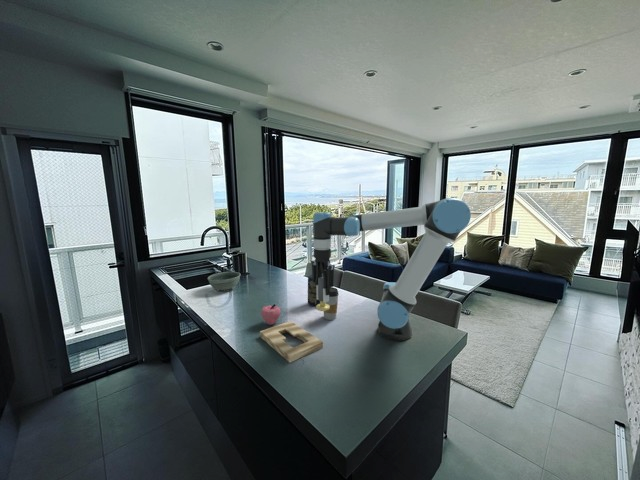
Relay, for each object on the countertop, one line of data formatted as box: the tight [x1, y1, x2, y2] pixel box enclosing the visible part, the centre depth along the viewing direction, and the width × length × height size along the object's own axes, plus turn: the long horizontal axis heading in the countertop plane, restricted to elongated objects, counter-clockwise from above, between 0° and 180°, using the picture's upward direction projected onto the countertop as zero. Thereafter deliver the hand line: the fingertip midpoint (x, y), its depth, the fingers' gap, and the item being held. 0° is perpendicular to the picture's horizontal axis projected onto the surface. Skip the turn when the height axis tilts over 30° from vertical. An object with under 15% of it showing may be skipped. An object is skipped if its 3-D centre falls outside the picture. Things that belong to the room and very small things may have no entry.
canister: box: [307, 274, 323, 307], centre depth 151 cm, size 10×10×18 cm
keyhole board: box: [259, 320, 324, 363], centre depth 111 cm, size 24×16×3 cm, turn 40°
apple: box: [260, 303, 281, 326], centre depth 127 cm, size 10×9×10 cm
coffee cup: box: [323, 286, 339, 321], centre depth 134 cm, size 8×8×15 cm
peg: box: [315, 277, 330, 312], centre depth 116 cm, size 6×6×14 cm
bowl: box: [207, 271, 241, 293], centre depth 175 cm, size 21×21×10 cm
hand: (322, 300), depth 116 cm, fingers closed on peg, 4 cm apart
